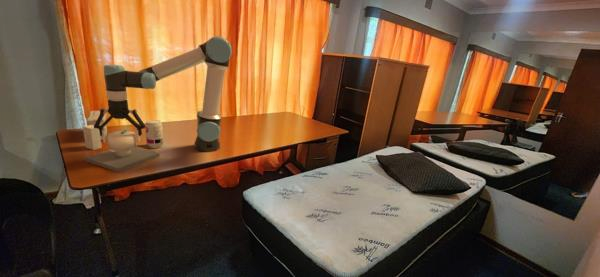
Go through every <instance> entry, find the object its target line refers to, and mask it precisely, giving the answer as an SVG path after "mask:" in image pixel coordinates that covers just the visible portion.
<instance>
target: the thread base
mask: <svg viewBox="0 0 600 277" xmlns="http://www.w3.org/2000/svg"><path fill="white" fill-rule="evenodd" d="M160 153H161V152H157V151H155V150H151V149H147V148H143V147H140V146H137V145H136V146H135V147H133V148H130V149H125V150H113V149H110V148H109V149H106V150H103V151H100V152H96V153H93V154H90V155H86V156H84V157H83V160H84V162H87V163H89V164H93V165H95V166H97V167H98V166H99V167H102V168H104V169H107V170H111V171H113V172H116V173H121V172H123V171H126V170H129V169H131V168H134V167H136V165H137V166H139V165H141V163H142V164H144V163H146V162H149V161H151V160H154V159H158V158H159V157H160V156H161V154H160Z"/></svg>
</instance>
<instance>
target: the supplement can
mask: <svg viewBox="0 0 600 277" xmlns="http://www.w3.org/2000/svg"><path fill="white" fill-rule="evenodd" d="M144 124H145V128H144V129H145V138H146V139H145V140H146V141H145V142H146V146H147V147H148V148H149V149H159V148H162V146H163V145H164V136H163V123H162V121H161V120H158V119H150V120H146V122H145V123H144Z"/></svg>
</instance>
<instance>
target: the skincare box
mask: <svg viewBox="0 0 600 277" xmlns="http://www.w3.org/2000/svg"><path fill="white" fill-rule="evenodd" d="M82 131H83V137H84V142H85V148H86V149H89V150H92V151H95V150H99V149H102V140H101V138H100V132H99V129H97V128H94V125H87V124H86V125H83V126H82Z"/></svg>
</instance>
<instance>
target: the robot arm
mask: <svg viewBox="0 0 600 277" xmlns="http://www.w3.org/2000/svg"><path fill="white" fill-rule="evenodd" d="M232 53H233V48H232V45H231V43H230V42H229V41H228V40H227V38H224V37H222V36H212V37H210V38H209V39H208V40H207V41H205V42H204V43H201V44H199V45H198V47H197V48H194V49H191V50H190V51H187V52H184V53H182V54H178V55H177V56H173V57H172V58H169V59H167V60H164V61H162V62H158V63H156V64H154V65H151V66H149V67H146V68H143V69H141V70H139V71H132V70H125V67H124V66H123V65H119V64H106V65H103V73H104V74H103V77H104V84H105V90H106V91H105V92H106V99H107V109H106V108H104V107H101V109H99V111H100V115H99V117H98V119H97V121H96V123H95V125H94V128H97V129H99V132H100V136H103V140H102V141H103V143H104V144H105V143H108V137H107V135H108V134H107V135H106V128H103V127H104V126H105V125H106V124H109V122H110V121H111V120H113V118H114V119H115V120H123V119H125V120H126V121H128V122H129V123H130V124H131V125H132V126H134V128H136V129H135V136H136V143H140V142H141V138H140V136H142V134H143V132H142V130H144V129H145V124H146V123H144V122H143V120H142V119H141V117H140V116H139V114H138V112H137V109H129V103H128V102H129V101H128V93H127V92H128V91H127V88H130V89H131V88H132V89H133V88H134V89H145V90H154V89H155V88H156V84H157V82H158V81H160V80H163V79H166V78H168V77H170V76H173V75H175V74H178V73H180V72H183V71H185V70H188V69H190V68H193V67H196V66H198V65H201V64H203V63H205V65H206V66H207V68H206V78H205V85H204V93H203V94H204V95H203V100H202V101H203V102H202V110H198V111H197V114H196V123H197V124H196V134H197V135H196V138H195V141H194V144H193V148H194V149H195V150H196V151H199V152H215V151H218V150H219V149H220V148H221V141H220V138H219V137H220V134H221V122H222V116H221V115H220V109H221V100H222V92H223V87H224V79H225V72H226V70H227V69H228V68H229V67H230V65H229V64H230V59H231V56H232V55H233V54H232ZM106 113H108V115H110V116H108V118H106V121H105V122H104V123H103V124H102V125H101V126H100V125H99V124H100V122H101V120H102V118H103V116H104V114H106ZM130 114H131V115H132V116H133V118H134V119H133V118H132V117H131V116H130ZM106 115H107V114H106ZM217 149H218V150H217Z"/></svg>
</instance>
